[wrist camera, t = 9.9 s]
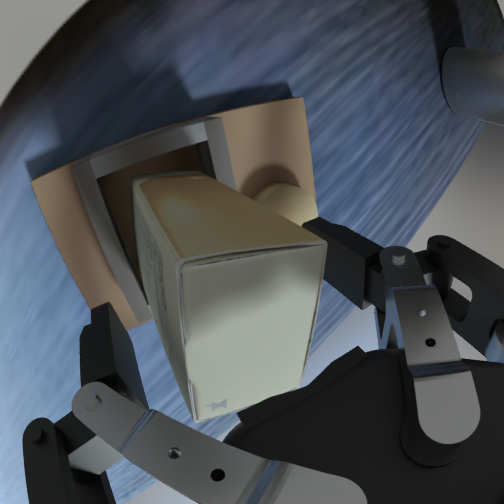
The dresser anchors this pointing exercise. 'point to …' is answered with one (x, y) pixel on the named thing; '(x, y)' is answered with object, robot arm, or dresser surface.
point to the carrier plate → (167, 160)
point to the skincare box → (225, 289)
